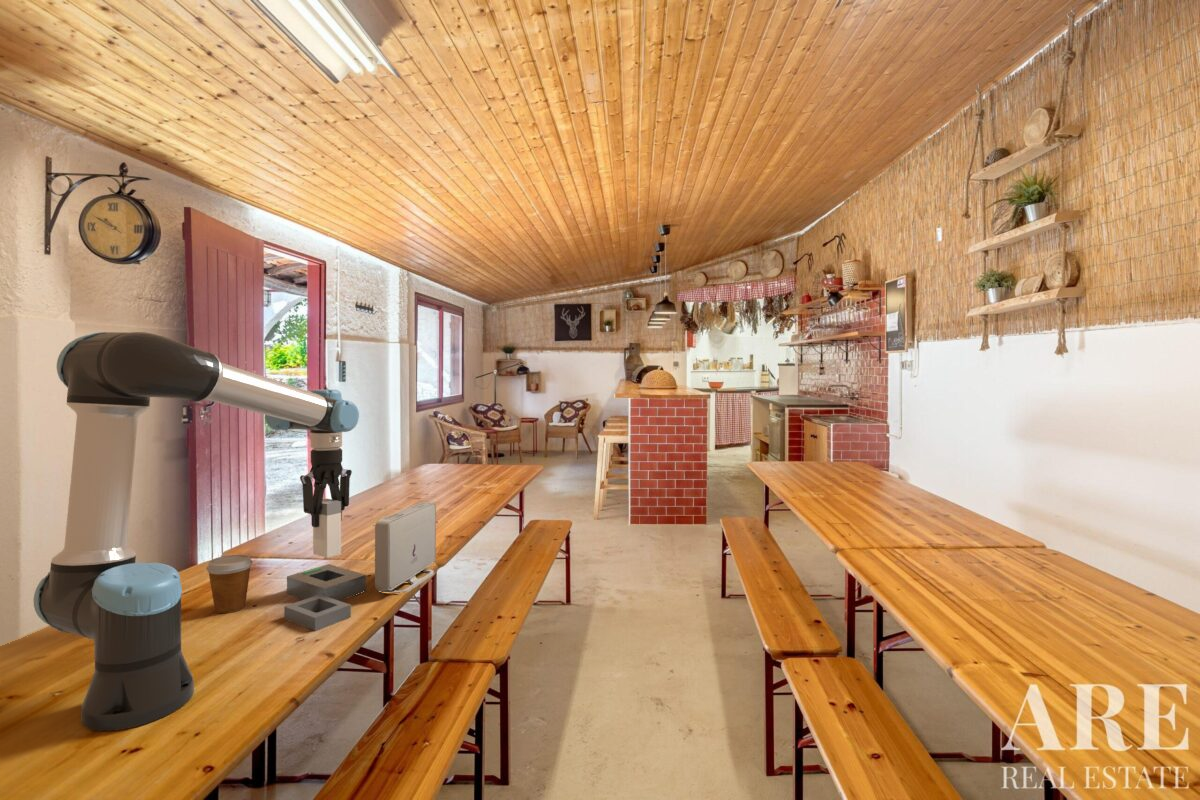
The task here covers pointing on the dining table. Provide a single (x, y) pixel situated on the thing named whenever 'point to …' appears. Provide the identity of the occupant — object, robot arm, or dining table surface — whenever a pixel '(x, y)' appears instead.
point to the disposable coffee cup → (229, 581)
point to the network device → (405, 547)
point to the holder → (329, 612)
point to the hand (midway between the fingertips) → (327, 536)
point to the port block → (326, 583)
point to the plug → (329, 530)
